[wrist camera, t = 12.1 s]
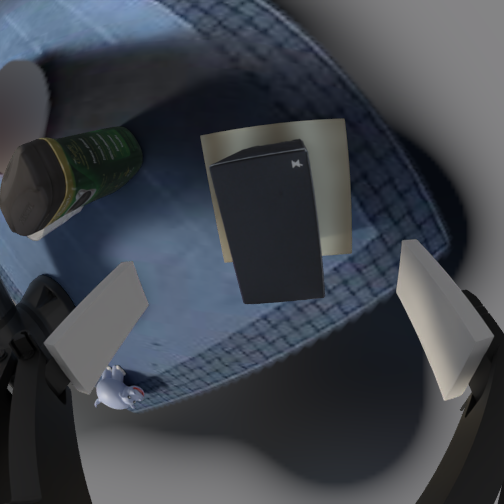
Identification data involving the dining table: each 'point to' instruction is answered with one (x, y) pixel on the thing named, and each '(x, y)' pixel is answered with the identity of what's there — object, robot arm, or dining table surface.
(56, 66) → the dining table surface
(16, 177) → the coffee jar
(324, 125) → the plinth
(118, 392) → the hippopotamus toy
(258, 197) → the small box
